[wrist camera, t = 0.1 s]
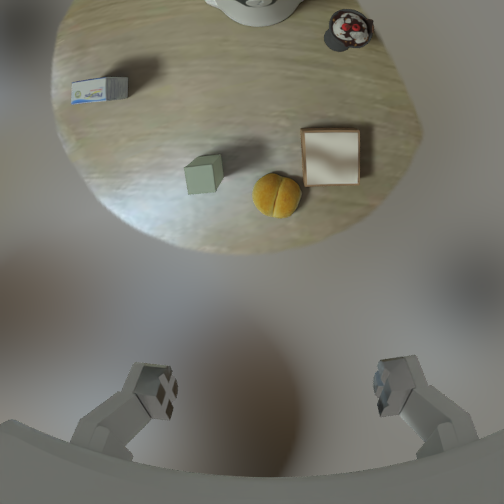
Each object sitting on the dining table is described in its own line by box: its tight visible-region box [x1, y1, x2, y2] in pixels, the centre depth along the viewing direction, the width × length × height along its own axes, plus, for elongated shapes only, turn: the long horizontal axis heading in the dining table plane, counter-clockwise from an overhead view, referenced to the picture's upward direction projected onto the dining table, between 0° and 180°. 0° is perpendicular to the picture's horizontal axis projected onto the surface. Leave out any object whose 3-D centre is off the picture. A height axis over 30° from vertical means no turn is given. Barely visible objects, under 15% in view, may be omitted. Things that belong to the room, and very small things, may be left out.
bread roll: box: [252, 173, 302, 218], centre depth 55 cm, size 8×9×4 cm
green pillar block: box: [184, 154, 224, 195], centre depth 51 cm, size 5×5×9 cm
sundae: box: [324, 9, 374, 52], centre depth 35 cm, size 7×7×15 cm
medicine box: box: [71, 77, 128, 104], centre depth 44 cm, size 8×4×9 cm, turn 85°
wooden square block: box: [300, 128, 360, 187], centre depth 51 cm, size 10×10×4 cm
